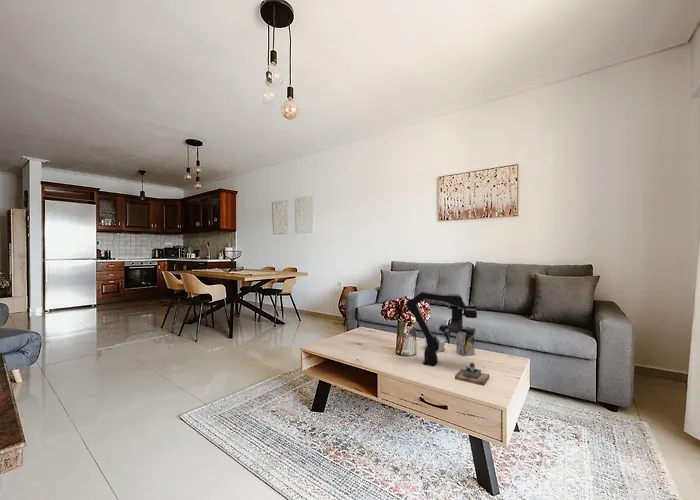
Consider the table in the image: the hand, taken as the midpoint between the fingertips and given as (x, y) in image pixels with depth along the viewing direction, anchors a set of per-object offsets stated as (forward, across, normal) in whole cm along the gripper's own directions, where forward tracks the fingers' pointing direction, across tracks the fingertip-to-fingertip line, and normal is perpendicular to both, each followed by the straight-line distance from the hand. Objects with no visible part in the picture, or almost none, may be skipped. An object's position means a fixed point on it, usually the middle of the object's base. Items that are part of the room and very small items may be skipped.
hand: (457, 345), depth 178 cm
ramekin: (+12, -21, +22) cm, 33 cm away
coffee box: (+12, -2, +24) cm, 27 cm away
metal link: (+10, +11, -12) cm, 19 cm away
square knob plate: (+12, +11, -12) cm, 20 cm away
